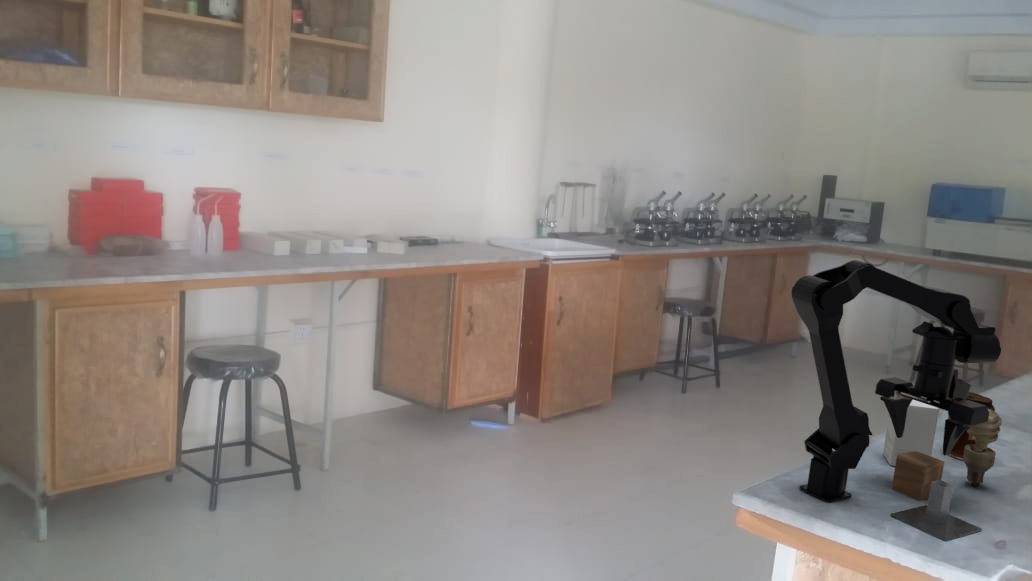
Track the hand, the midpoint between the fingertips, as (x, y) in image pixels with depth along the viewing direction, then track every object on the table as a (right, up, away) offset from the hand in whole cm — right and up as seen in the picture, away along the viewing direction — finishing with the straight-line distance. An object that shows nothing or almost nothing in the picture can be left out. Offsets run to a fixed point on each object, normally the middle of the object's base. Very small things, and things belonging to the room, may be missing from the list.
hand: (922, 446), depth 159 cm
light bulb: (+13, -9, +8) cm, 18 cm away
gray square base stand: (-3, -11, -12) cm, 16 cm away
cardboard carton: (-1, -9, +2) cm, 9 cm away
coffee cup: (+19, -7, +24) cm, 32 cm away
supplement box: (+5, -7, +18) cm, 19 cm away
